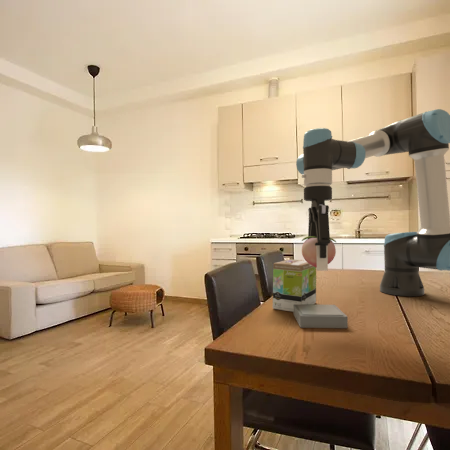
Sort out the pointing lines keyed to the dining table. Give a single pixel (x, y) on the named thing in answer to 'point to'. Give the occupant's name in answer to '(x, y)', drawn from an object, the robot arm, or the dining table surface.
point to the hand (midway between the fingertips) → (318, 267)
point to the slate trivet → (320, 316)
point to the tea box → (293, 284)
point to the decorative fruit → (311, 251)
